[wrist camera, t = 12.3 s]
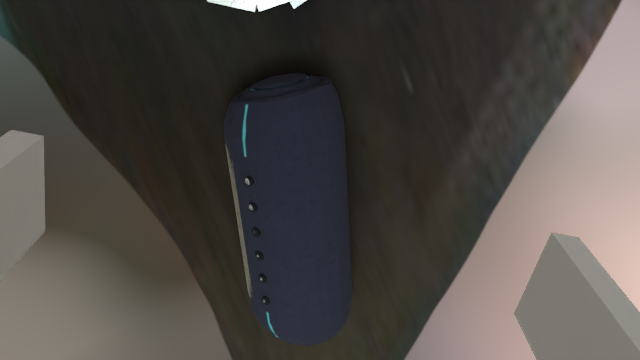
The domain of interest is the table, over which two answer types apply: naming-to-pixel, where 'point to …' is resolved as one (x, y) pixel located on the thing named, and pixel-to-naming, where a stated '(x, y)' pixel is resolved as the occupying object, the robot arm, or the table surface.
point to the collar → (256, 3)
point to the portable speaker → (292, 204)
